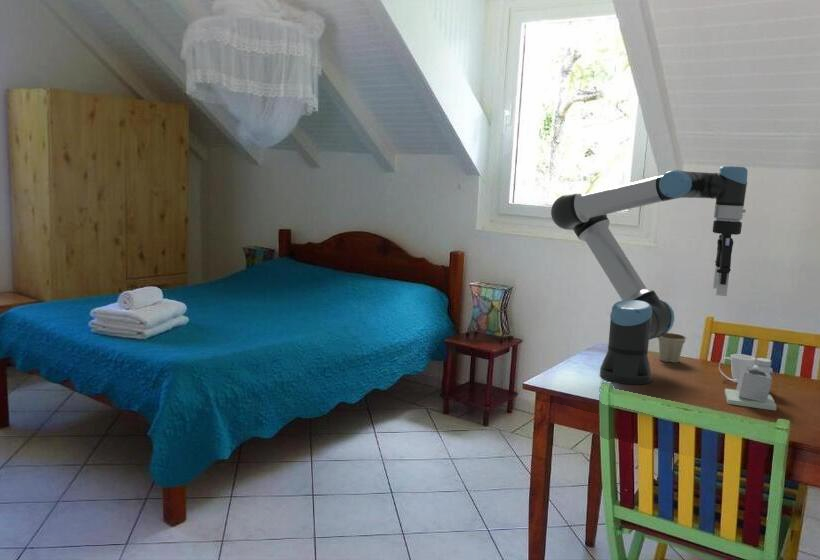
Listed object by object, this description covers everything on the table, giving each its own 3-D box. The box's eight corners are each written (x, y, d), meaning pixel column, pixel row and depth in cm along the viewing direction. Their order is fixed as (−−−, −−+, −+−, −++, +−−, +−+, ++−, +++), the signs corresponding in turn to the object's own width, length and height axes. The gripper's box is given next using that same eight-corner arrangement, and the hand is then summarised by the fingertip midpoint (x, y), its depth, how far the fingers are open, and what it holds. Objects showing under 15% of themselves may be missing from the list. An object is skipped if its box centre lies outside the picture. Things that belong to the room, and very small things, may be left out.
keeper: (727, 403, 188) (731, 371, 186) (724, 392, 198) (728, 362, 196) (776, 410, 184) (780, 378, 182) (770, 398, 194) (774, 367, 192)
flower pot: (688, 360, 232) (690, 336, 230) (678, 365, 225) (680, 340, 223) (660, 355, 238) (663, 331, 236) (650, 359, 231) (652, 335, 229)
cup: (751, 386, 204) (755, 361, 203) (715, 380, 209) (718, 355, 208) (753, 381, 210) (756, 356, 209) (718, 375, 215) (721, 350, 214)
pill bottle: (750, 387, 204) (754, 356, 203) (770, 391, 201) (775, 359, 200) (748, 391, 200) (752, 359, 198) (768, 395, 197) (772, 363, 195)
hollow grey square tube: (738, 396, 188) (744, 372, 187) (736, 389, 195) (741, 366, 193) (766, 402, 186) (772, 378, 185) (762, 395, 192) (768, 372, 191)
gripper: (746, 223, 183) (737, 300, 187) (737, 218, 207) (729, 287, 210) (716, 221, 186) (708, 297, 189) (711, 217, 209) (703, 284, 213)
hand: (719, 292), depth 200 cm, fingers open, 13 cm apart
